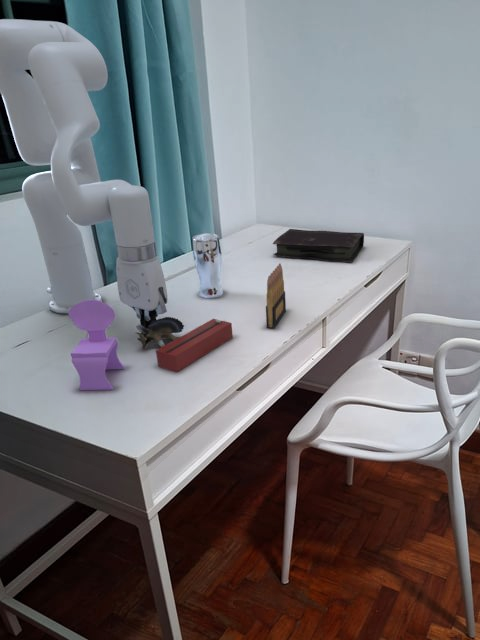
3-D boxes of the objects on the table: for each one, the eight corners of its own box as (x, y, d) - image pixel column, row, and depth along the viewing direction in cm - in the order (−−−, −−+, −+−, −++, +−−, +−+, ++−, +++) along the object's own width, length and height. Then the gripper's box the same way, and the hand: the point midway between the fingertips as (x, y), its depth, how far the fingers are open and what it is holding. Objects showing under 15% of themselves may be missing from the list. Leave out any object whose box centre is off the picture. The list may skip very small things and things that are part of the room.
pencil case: (158, 366, 107) (155, 348, 105) (214, 333, 120) (213, 316, 118) (177, 372, 104) (174, 353, 102) (232, 337, 118) (231, 320, 116)
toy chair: (72, 391, 99) (53, 315, 91) (88, 368, 106) (71, 296, 99) (118, 390, 99) (102, 314, 91) (130, 368, 106) (116, 295, 99)
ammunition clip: (274, 328, 121) (272, 277, 115) (266, 328, 121) (264, 276, 115) (286, 311, 130) (284, 262, 124) (278, 310, 130) (276, 261, 124)
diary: (290, 242, 183) (290, 227, 180) (363, 246, 176) (364, 231, 173) (272, 258, 168) (271, 242, 165) (351, 263, 161) (352, 247, 158)
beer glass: (220, 299, 138) (214, 240, 130) (194, 298, 139) (187, 240, 131) (228, 290, 143) (223, 233, 136) (203, 289, 145) (197, 232, 137)
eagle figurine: (151, 354, 109) (190, 335, 112) (134, 322, 108) (173, 304, 112) (145, 360, 116) (182, 341, 119) (129, 330, 115) (166, 313, 118)
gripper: (97, 251, 109) (113, 333, 118) (151, 262, 102) (164, 349, 111) (124, 242, 115) (138, 321, 124) (178, 251, 108) (188, 335, 117)
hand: (150, 334), depth 118 cm, fingers closed
